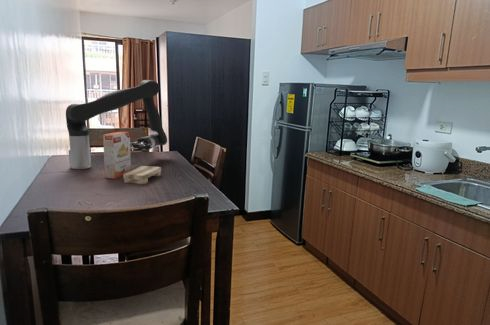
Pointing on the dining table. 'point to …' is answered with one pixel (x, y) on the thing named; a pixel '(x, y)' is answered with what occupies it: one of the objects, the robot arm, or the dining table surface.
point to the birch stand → (141, 174)
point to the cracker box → (116, 154)
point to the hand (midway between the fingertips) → (131, 148)
